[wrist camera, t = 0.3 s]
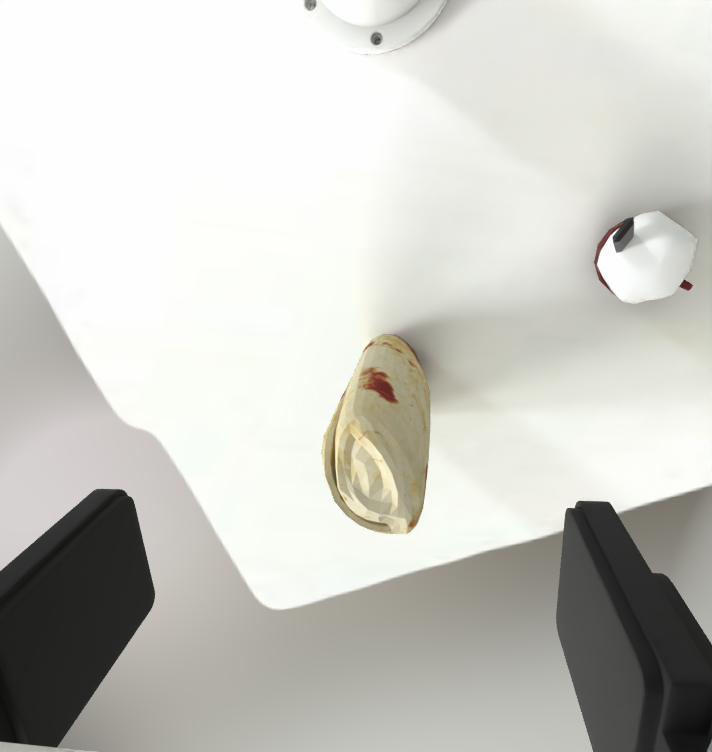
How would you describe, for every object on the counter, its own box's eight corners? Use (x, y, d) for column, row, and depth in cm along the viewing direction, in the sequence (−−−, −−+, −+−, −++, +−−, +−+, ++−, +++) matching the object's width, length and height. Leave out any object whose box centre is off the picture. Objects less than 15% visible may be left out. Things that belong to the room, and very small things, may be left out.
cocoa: (688, 272, 41) (786, 301, 29) (615, 317, 43) (682, 360, 31) (628, 174, 39) (709, 164, 28) (555, 225, 41) (603, 235, 30)
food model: (442, 410, 48) (450, 547, 29) (374, 424, 49) (341, 564, 30) (415, 312, 45) (406, 394, 26) (345, 331, 46) (288, 421, 28)
